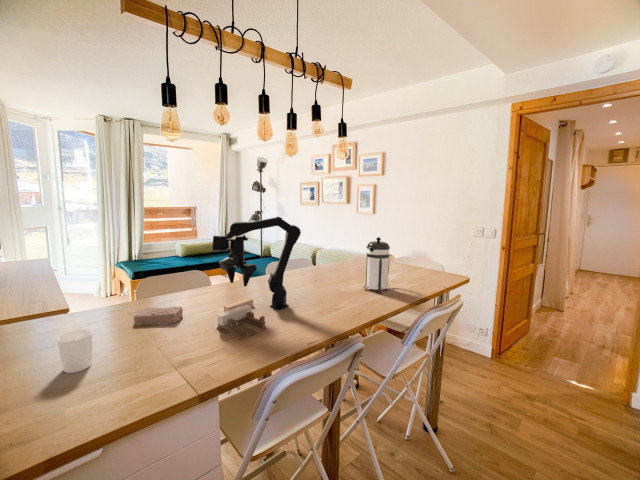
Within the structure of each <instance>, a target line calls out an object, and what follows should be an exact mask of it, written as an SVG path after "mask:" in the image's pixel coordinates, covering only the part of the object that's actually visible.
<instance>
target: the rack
mask: <svg viewBox="0 0 640 480" xmlns="http://www.w3.org/2000/svg"><path fill="white" fill-rule="evenodd" d="M216 330H217V331H221V333H224V334H227V335H230V336H232V337H234V338H236V339H239V340H240V341H244V340H245V339H248V338H251V337H252V336H255V335H256V334H258V333H261V332H263V331H265V330H267V326H266V321H265V316H264V315H262V316H259V318H256V317H255V312H253V311H251V312H247V316H246V317H244V318H241V319H238V320H234V319H232V318H231V319H229V320H228V324H226V325H223V326H222V325H220V324H218V323H217V327H216Z"/></svg>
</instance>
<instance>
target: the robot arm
mask: <svg viewBox="0 0 640 480" xmlns="http://www.w3.org/2000/svg"><path fill="white" fill-rule="evenodd" d="M273 227H279V228H280V229H282V230H283V231H285V236H284V237H285V238H284V239H285V241H284V244H283V248H282V250H281V253H280V256H279V260H278V262H277V266H276V268H275V270H274V272H273V273H271V272H270V273H269V277H268V279H267V283H268V287H269V290H270V292H271V293H272V296H271V297H272V298H271V305H269V308H272V309H276V310H280V311H281V310H283V309H285V308H288V307H289V306H290V305H289V304H288V303H287V289H286V287H285V286H284V285H283V283H284V274H285V271H286V268H287V265H288V262H289V259H290V256H291V253H292V251H293V248H294V246H295V245H296V243H297V241H298V240H299V238H300V236H301V233H302V231H301V228H300V227H299V226H296V225H294V224H289V223H288V222H287V221H286V220H284V219H283V218H282V217H280V216H275V217H270V218H265V219H259V220H255V221H235V222H232V223H231V225H230V227H229V232H228V233H226V235H212V251H213V252H227V251H228V250H229V249H230V252H229V253H228V255H227V256H228V257H225V258H224V259H222V260H220V261H219V263H218V264H219V268H220V269H221V270H224V271H225V272H226V274H227V276H228V279H229V282H230V283H231V284H233V283H234V280H235V275H236V269H240V275H241V276H242V279H243V280H242V281H243V287H247V286H248V284H249V281H250V279H251V277H252V275H253V274H254V273H255V272H256V271H257V269H258V268H257V265H256V264H253V263H247V260H245V256H246V255H247V252H245V242H247V241H249V238H248V237H247V236H246V234H247V233H249V232H252V231H257V230H262V229H268V228H273ZM234 237H235V238H234Z"/></svg>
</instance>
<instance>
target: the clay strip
mask: <svg viewBox="0 0 640 480" xmlns="http://www.w3.org/2000/svg"><path fill="white" fill-rule="evenodd" d="M244 305H249V306H251V308H252V307H254V299H252V298H245V299H241V300H239V301H237V302H232V303H230V304H226V305H224V306H223V313H224V312H227V311H230V310H233V309H236V308H238V307H241V306H244Z"/></svg>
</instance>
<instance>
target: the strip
mask: <svg viewBox="0 0 640 480" xmlns="http://www.w3.org/2000/svg"><path fill="white" fill-rule="evenodd" d="M247 312H252V307H251V306H249V305H244V306H241V307H238V308H236V309H233V310H230V311H227V312H224V311H223V312H221V313H219V314H217V315H216V316H217V325H218V324H220V325H222V326H223V325H226V324H228V320H229V319H231V318H232V319H234V320H238V319H241V318H244V317H246V316H247Z"/></svg>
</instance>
